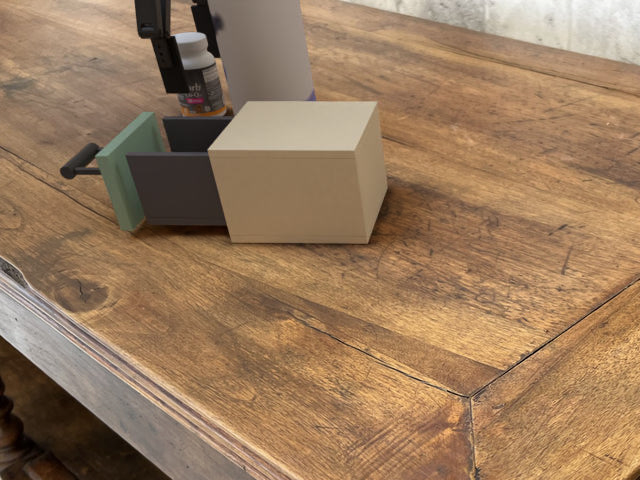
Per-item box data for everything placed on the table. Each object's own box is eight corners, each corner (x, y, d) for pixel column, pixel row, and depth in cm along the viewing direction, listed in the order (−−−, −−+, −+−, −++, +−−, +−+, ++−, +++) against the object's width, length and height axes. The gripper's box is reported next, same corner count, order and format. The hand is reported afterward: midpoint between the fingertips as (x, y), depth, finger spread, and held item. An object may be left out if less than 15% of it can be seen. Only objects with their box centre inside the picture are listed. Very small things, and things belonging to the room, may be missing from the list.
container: (236, 127, 102) (195, -46, 90) (314, 116, 105) (285, -54, 92) (244, 157, 95) (201, -28, 83) (328, 144, 98) (298, -36, 85)
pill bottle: (174, 121, 104) (152, 42, 98) (198, 106, 109) (178, 29, 102) (213, 125, 103) (193, 45, 97) (235, 109, 108) (218, 32, 101)
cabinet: (231, 242, 79) (207, 149, 73) (266, 187, 89) (247, 101, 83) (367, 244, 78) (354, 150, 72) (387, 187, 88) (377, 101, 82)
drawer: (65, 230, 79) (34, 155, 74) (113, 181, 88) (89, 111, 83) (245, 232, 79) (226, 156, 74) (276, 182, 88) (261, 111, 83)
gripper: (134, -102, 79) (192, 109, 93) (214, -135, 99) (253, 44, 112) (60, -101, 80) (129, 109, 93) (155, -134, 99) (201, 44, 112)
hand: (197, 74), depth 103 cm, fingers open, 13 cm apart
